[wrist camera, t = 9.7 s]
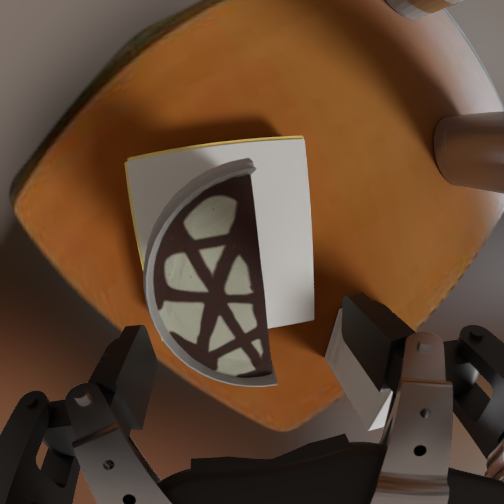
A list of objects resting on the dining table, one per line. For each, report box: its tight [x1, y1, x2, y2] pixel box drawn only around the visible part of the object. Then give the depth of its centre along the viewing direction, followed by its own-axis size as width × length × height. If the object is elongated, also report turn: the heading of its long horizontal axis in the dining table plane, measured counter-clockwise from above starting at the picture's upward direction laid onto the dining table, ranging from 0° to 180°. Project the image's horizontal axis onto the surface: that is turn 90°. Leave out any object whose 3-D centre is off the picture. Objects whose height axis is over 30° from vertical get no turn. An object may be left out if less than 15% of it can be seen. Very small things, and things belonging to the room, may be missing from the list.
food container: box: [143, 158, 278, 387], centre depth 17 cm, size 12×6×10 cm, turn 7°
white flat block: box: [124, 136, 314, 341], centre depth 23 cm, size 14×16×4 cm
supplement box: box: [325, 308, 393, 431], centre depth 25 cm, size 7×7×13 cm
